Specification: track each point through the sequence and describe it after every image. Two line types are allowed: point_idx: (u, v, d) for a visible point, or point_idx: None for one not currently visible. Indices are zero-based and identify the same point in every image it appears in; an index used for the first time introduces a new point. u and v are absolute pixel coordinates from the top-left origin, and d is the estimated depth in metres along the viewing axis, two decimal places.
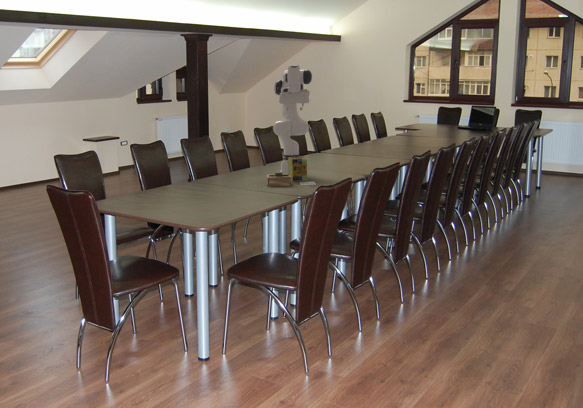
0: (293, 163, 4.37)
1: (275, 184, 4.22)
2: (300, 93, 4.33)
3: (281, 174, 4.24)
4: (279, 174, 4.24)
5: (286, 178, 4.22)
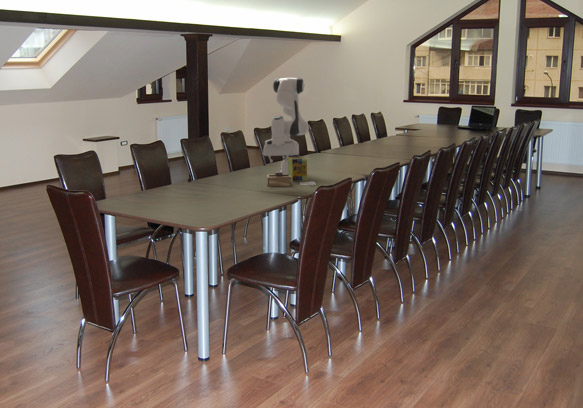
0: (293, 163, 4.37)
1: (275, 184, 4.22)
2: (285, 145, 4.22)
3: (281, 174, 4.24)
4: (279, 174, 4.24)
5: (286, 178, 4.22)
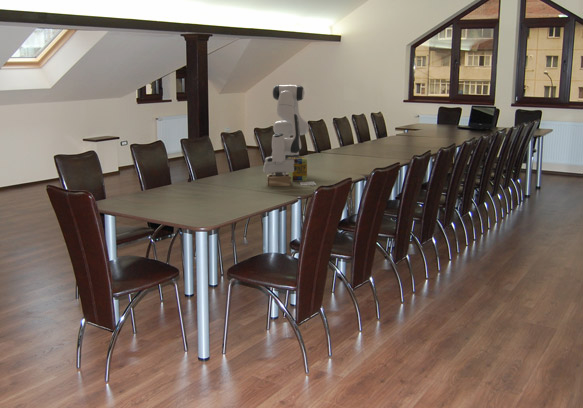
0: None
1: (275, 184, 4.22)
2: (285, 162, 4.24)
3: (281, 174, 4.24)
4: (279, 174, 4.24)
5: (286, 178, 4.22)
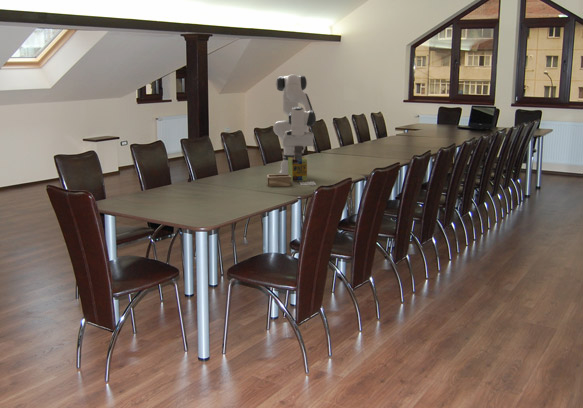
0: (293, 163, 4.37)
1: (275, 184, 4.22)
2: (304, 136, 4.21)
3: (300, 148, 4.21)
4: (298, 148, 4.21)
5: (286, 178, 4.22)
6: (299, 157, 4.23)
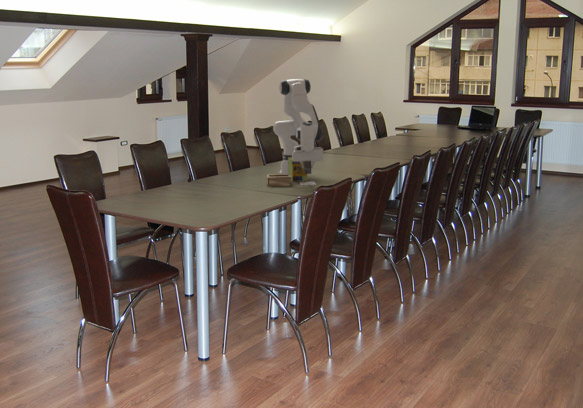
0: (293, 163, 4.37)
1: (275, 184, 4.22)
2: (314, 151, 4.24)
3: (310, 163, 4.24)
4: (308, 163, 4.24)
5: (286, 178, 4.22)
6: (309, 172, 4.25)
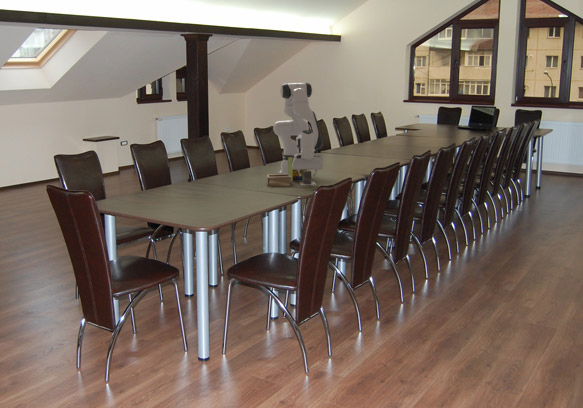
0: None
1: (275, 184, 4.22)
2: (314, 159, 4.25)
3: (310, 173, 4.25)
4: (308, 173, 4.25)
5: (286, 178, 4.22)
6: (309, 182, 4.26)
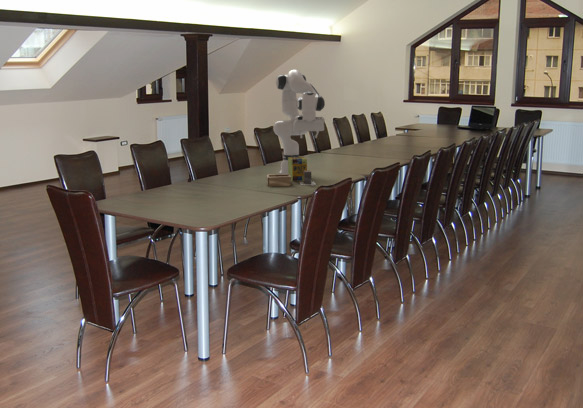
0: (293, 163, 4.37)
1: (275, 184, 4.22)
2: (315, 121, 4.22)
3: (310, 173, 4.25)
4: (308, 173, 4.25)
5: (286, 178, 4.22)
6: (309, 182, 4.26)
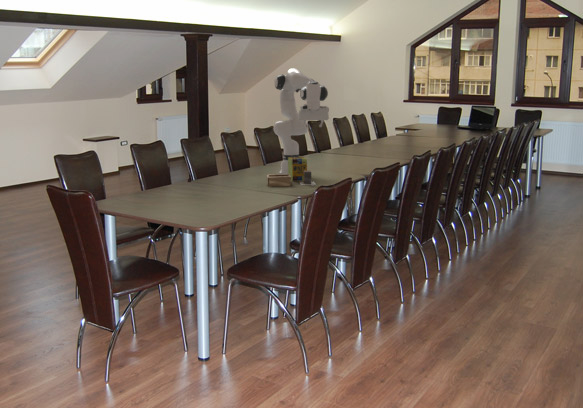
0: (293, 163, 4.37)
1: (275, 184, 4.22)
2: (320, 110, 4.27)
3: (310, 173, 4.25)
4: (308, 173, 4.25)
5: (286, 178, 4.22)
6: (309, 182, 4.26)
